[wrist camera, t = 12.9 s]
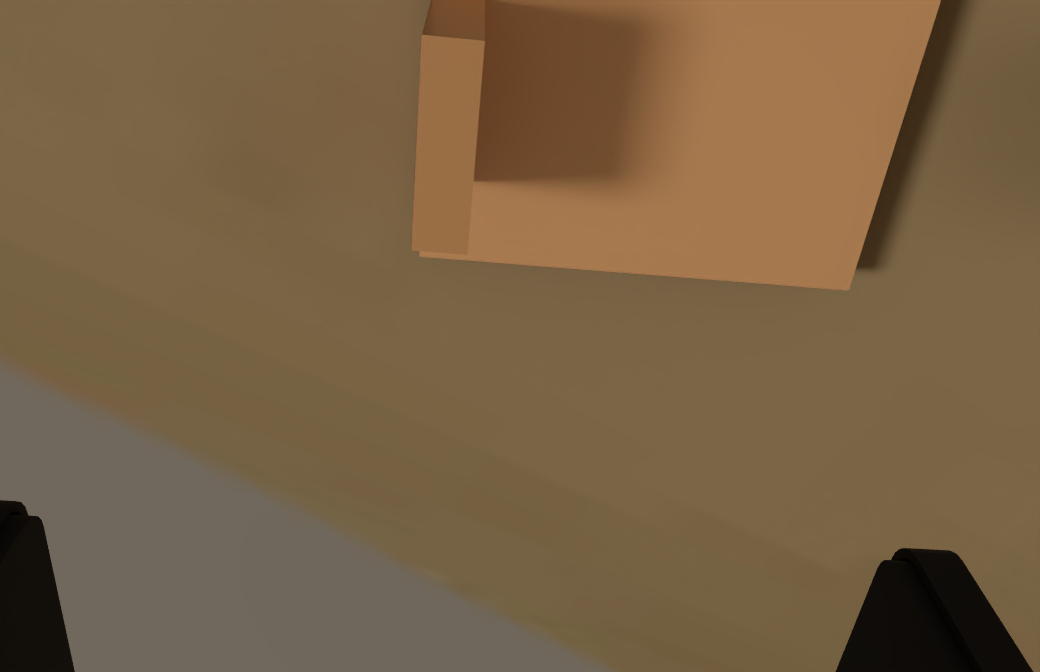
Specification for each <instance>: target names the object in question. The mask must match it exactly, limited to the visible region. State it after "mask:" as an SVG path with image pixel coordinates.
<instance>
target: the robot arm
mask: <svg viewBox="0 0 1040 672" xmlns="http://www.w3.org/2000/svg"><path fill="white" fill-rule="evenodd" d="M0 672H75V671H74V667H73V662H72V657H71V653H70V648H69V643H68V638H67V634H66V629H65V624H64V620H63V615H62V611H61V605H60V601H59V596H58V591H57V587H56V582H55V577H54V573H53V568H52V563H51V559H50V554H49V549H48V545H47V540H46V535H45V530H44V526H43V523H42V520H41V519H40V518H39V517H38V516H28V513H27V510H26V508H25V506H24V505H23V504H22V503H21V502H16V501H2V500H0ZM836 672H1033V671H1032V669H1031V668H1030V666H1029V665H1028V663H1027V661H1026V660H1025V658H1024V657H1023V655H1022V654H1021V652H1020V650H1019V649H1018V647H1017V646H1016V644H1015V643H1014V641H1013V639H1012V638H1011V636H1010V635H1009V633H1008V632H1007V630H1006V628H1005V627H1004V625H1003V624H1002V622H1001V621H1000V619H999V617H998V616H997V614H996V613H995V611H994V610H993V608H992V606H991V605H990V603H989V602H988V600H987V599H986V597H985V595H984V594H983V592H982V591H981V589H980V588H979V586H978V584H977V583H976V581H975V580H974V578H973V577H972V575H971V573H970V572H969V570H968V569H967V567H966V566H965V564H964V562H963V561H962V560H961V559H960V557H959V556H958V555H957V554H956V553H954V552H952V551H948V550H929V549H910V548H902V549H899V550H898V551H897V552H895V554H894V555H893V557H892V559H891V560H884V561H883V562H881V563H880V565H879V567H878V568H877V571H876V573H875V576H874V578H873V581H872V583H871V586H870V588H869V591H868V593H867V595H866V598H865V600H864V603H863V605H862V608H861V610H860V613H859V615H858V618H857V620H856V623H855V625H854V628H853V630H852V633H851V635H850V638H849V640H848V643H847V645H846V647H845V650H844V652H843V655H842V657H841V660H840V662H839V665H838V667H837V670H836Z"/></svg>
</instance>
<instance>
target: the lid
mask: <svg viewBox="0 0 1040 672" xmlns="http://www.w3.org/2000/svg"><path fill="white" fill-rule="evenodd" d="M940 2H941V0H431V4H430V8H429V11H428V15H427V18H426V22H425V25H424V29H423V33H422V43H421V63H420V84H419V105H418V126H417V147H416V168H415V188H414V209H413V230H412V251H420V256H419V257H432V258H444V259H457V260H470V261H482V262H495V263H508V264H520V265H533V266H546V267H558V268H571V269H584V270H596V271H609V272H622V273H634V274H647V275H660V276H672V277H685V278H698V279H710V280H723V281H736V282H748V283H761V284H774V285H786V286H799V287H812V288H824V289H837V290H849V288H850V285H851V282H852V279H853V276H854V272H855V269H856V266H857V263H858V260H859V257H860V254H861V250H862V247H863V244H864V241H865V238H866V235H867V232H868V228H869V225H870V222H871V219H872V216H873V213H874V210H875V206H876V203H877V200H878V197H879V194H880V191H881V188H882V184H883V181H884V178H885V175H886V172H887V169H888V166H889V162H890V159H891V156H892V153H893V150H894V147H895V144H896V140H897V137H898V134H899V131H900V128H901V125H902V122H903V118H904V115H905V112H906V109H907V106H908V103H909V100H910V96H911V93H912V90H913V87H914V84H915V81H916V78H917V74H918V71H919V68H920V65H921V62H922V59H923V56H924V52H925V49H926V46H927V43H928V40H929V37H930V34H931V30H932V27H933V24H934V21H935V18H936V15H937V12H938V8H939V5H940Z"/></svg>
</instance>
